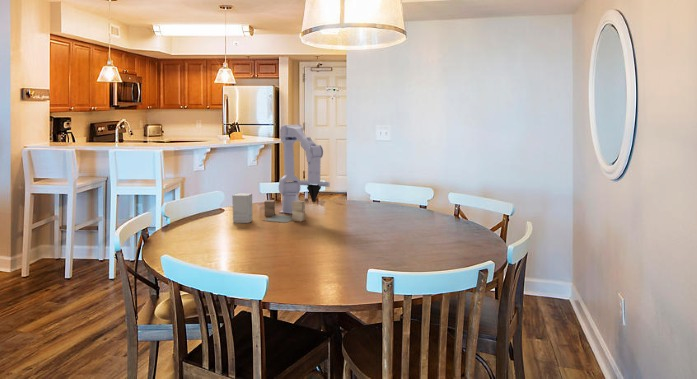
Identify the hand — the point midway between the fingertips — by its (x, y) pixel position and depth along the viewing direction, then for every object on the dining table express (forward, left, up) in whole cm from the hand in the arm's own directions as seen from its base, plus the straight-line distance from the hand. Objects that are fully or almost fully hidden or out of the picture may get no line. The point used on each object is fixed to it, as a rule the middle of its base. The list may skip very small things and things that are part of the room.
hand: (313, 201), depth 227 cm
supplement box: (+12, -30, -10) cm, 34 cm away
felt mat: (0, -17, -9) cm, 19 cm away
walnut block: (-7, -26, -9) cm, 29 cm away
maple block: (0, -8, -9) cm, 12 cm away
